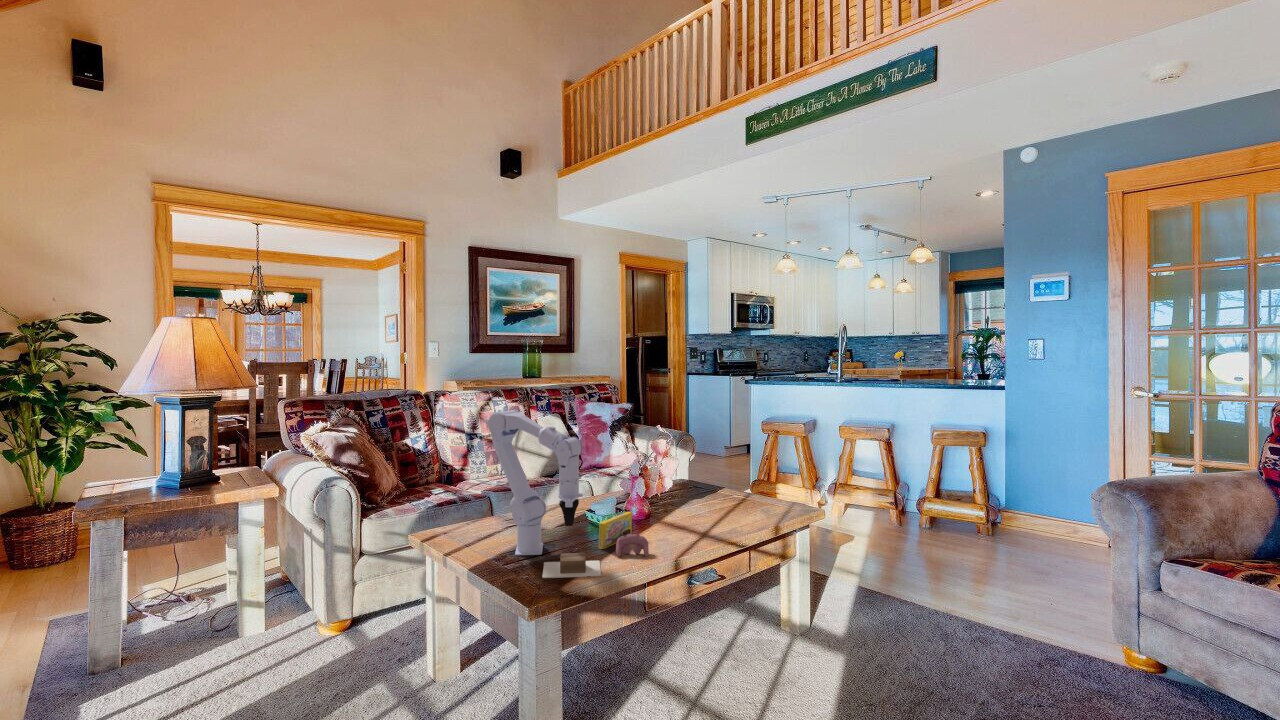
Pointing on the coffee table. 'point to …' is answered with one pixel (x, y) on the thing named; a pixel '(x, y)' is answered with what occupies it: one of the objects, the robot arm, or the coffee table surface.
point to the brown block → (572, 563)
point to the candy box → (614, 529)
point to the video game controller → (632, 539)
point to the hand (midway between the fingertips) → (569, 525)
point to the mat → (554, 572)
